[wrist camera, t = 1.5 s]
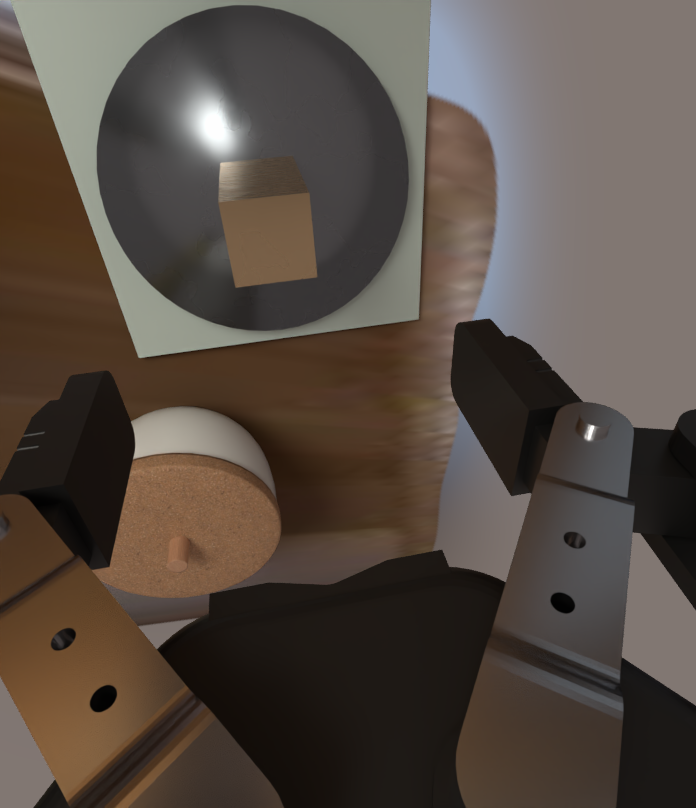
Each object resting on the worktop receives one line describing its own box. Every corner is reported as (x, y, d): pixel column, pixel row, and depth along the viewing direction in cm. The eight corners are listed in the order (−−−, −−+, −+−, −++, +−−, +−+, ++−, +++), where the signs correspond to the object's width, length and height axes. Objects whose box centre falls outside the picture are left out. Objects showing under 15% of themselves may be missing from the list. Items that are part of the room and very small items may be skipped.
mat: (8, -16, 19) (4, -16, 18) (429, -40, 21) (432, -40, 20) (140, 354, 29) (139, 358, 28) (416, 316, 30) (418, 319, 30)
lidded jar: (144, 517, 36) (124, 644, 29) (62, 402, 30) (8, 531, 22) (290, 476, 37) (306, 593, 29) (242, 353, 30) (246, 465, 23)
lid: (45, 17, 19) (-25, 19, 14) (406, -6, 21) (468, -13, 15) (152, 340, 28) (134, 417, 22) (402, 306, 29) (441, 370, 24)
